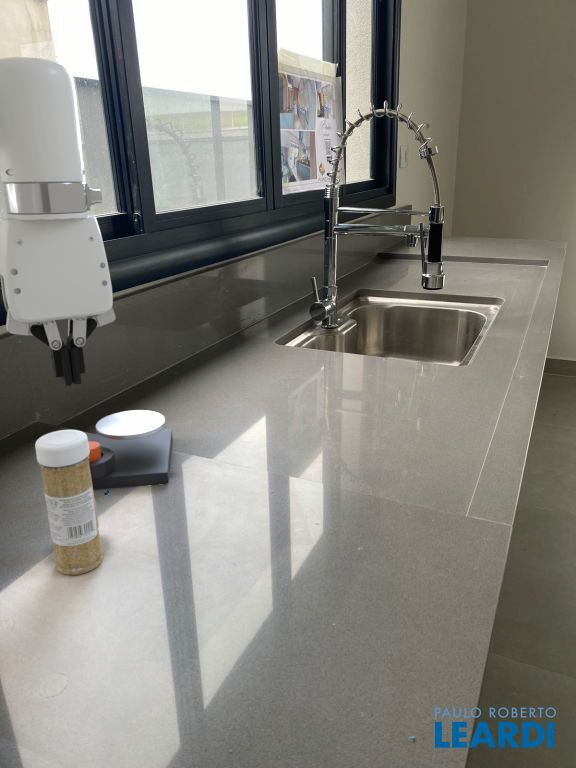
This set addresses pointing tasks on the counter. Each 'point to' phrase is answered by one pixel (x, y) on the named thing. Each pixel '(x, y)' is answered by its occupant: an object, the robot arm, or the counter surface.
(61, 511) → the spice jar
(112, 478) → the scale
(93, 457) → the tare button
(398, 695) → the counter surface
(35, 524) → the counter surface
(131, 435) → the weighing pan
